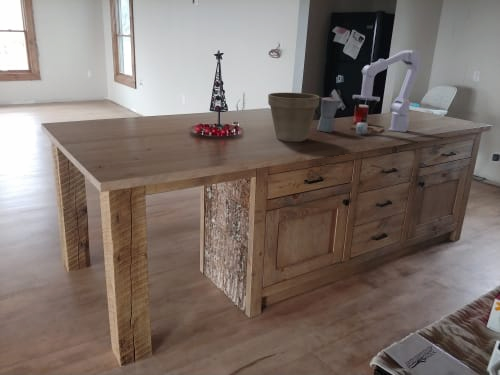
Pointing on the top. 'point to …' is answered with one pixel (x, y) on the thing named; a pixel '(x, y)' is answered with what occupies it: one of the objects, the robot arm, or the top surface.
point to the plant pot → (292, 114)
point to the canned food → (361, 114)
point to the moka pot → (327, 113)
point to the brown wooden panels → (374, 129)
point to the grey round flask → (361, 128)
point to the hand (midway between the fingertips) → (364, 113)
